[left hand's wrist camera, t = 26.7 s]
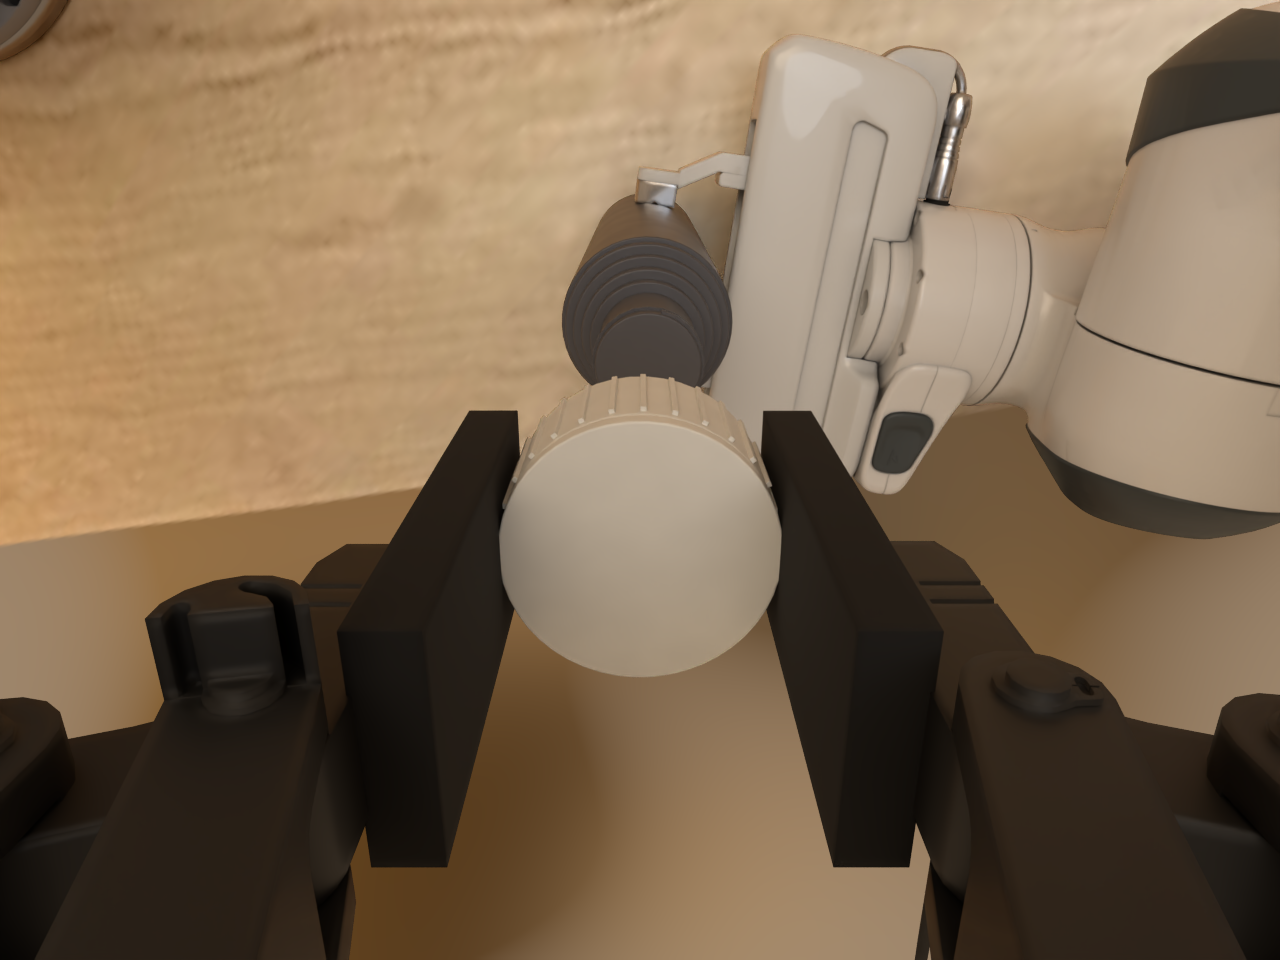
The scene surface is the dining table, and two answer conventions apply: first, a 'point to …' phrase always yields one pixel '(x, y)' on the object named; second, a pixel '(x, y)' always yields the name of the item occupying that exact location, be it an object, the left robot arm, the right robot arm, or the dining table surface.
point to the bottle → (646, 300)
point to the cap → (640, 529)
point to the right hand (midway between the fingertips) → (626, 261)
